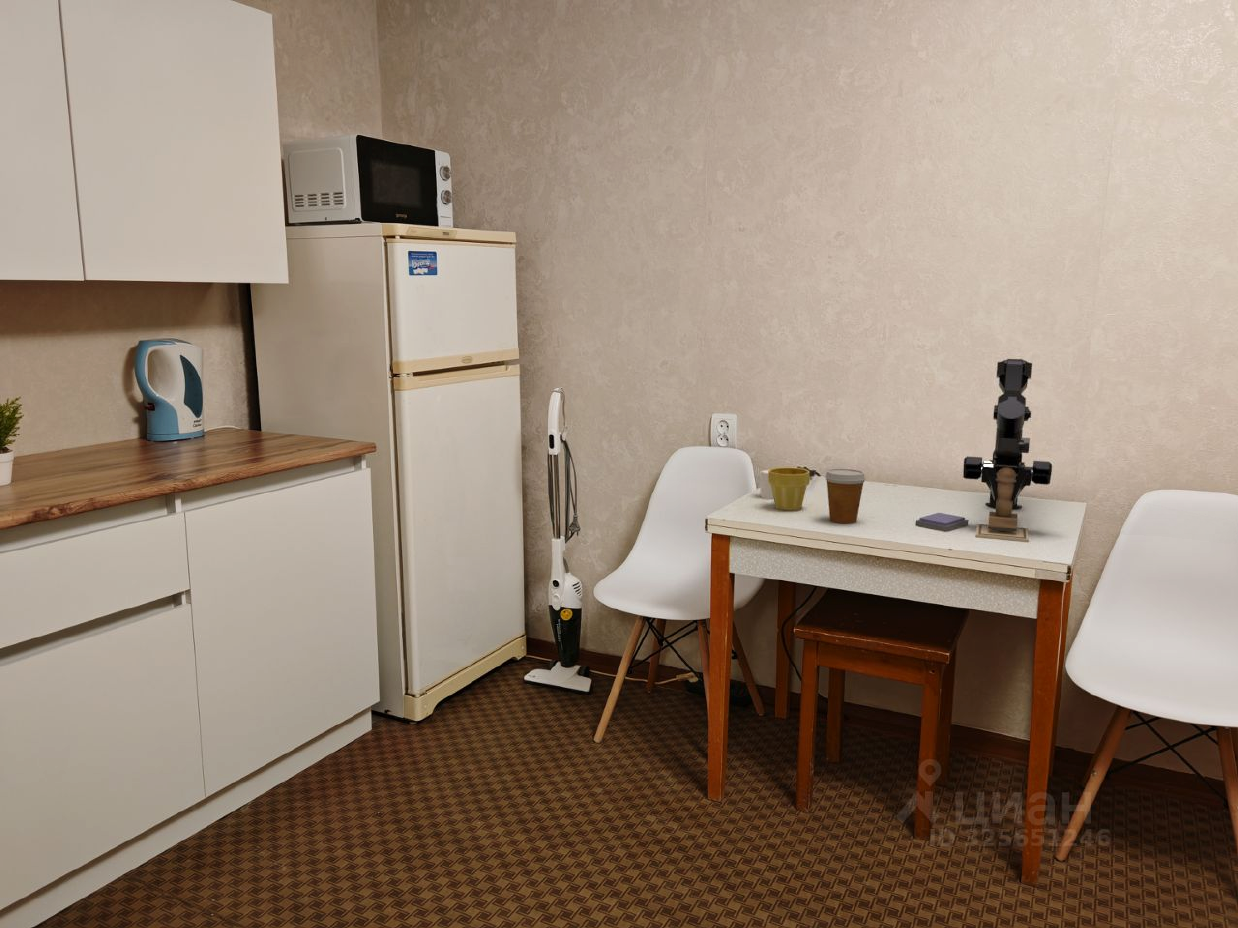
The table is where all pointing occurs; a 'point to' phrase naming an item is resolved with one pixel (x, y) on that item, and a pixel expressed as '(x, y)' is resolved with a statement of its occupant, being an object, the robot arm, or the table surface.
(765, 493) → the white cube
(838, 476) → the disposable coffee cup
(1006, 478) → the stamp
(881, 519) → the table surface
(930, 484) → the table surface
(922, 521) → the ink pad
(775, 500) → the plant pot
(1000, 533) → the beige square tile
